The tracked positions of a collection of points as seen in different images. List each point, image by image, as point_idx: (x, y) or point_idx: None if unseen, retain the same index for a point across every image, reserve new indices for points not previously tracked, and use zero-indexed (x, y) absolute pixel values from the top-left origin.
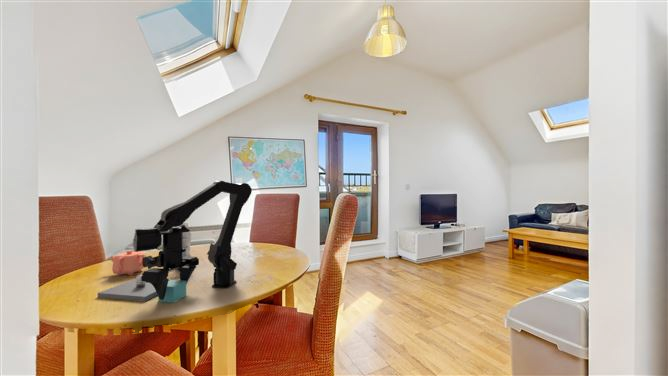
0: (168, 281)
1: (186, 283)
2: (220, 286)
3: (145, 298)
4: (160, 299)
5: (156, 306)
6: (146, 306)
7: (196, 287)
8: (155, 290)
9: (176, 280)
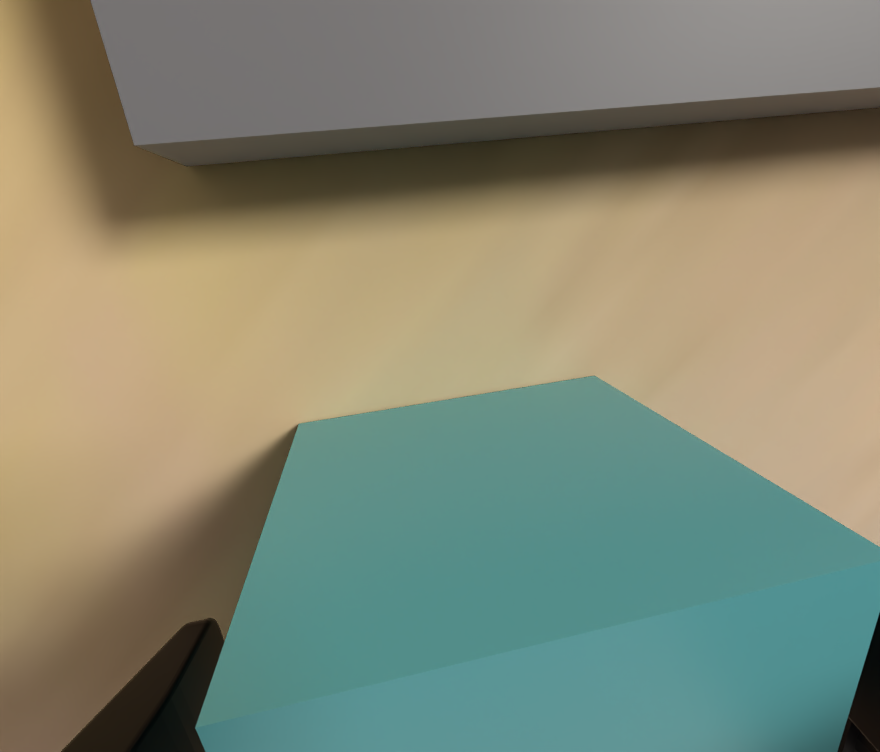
0: (722, 619)
1: None
2: (840, 749)
3: (179, 151)
4: (192, 634)
5: (148, 564)
6: (54, 421)
7: (858, 491)
8: (560, 34)
9: (818, 734)
